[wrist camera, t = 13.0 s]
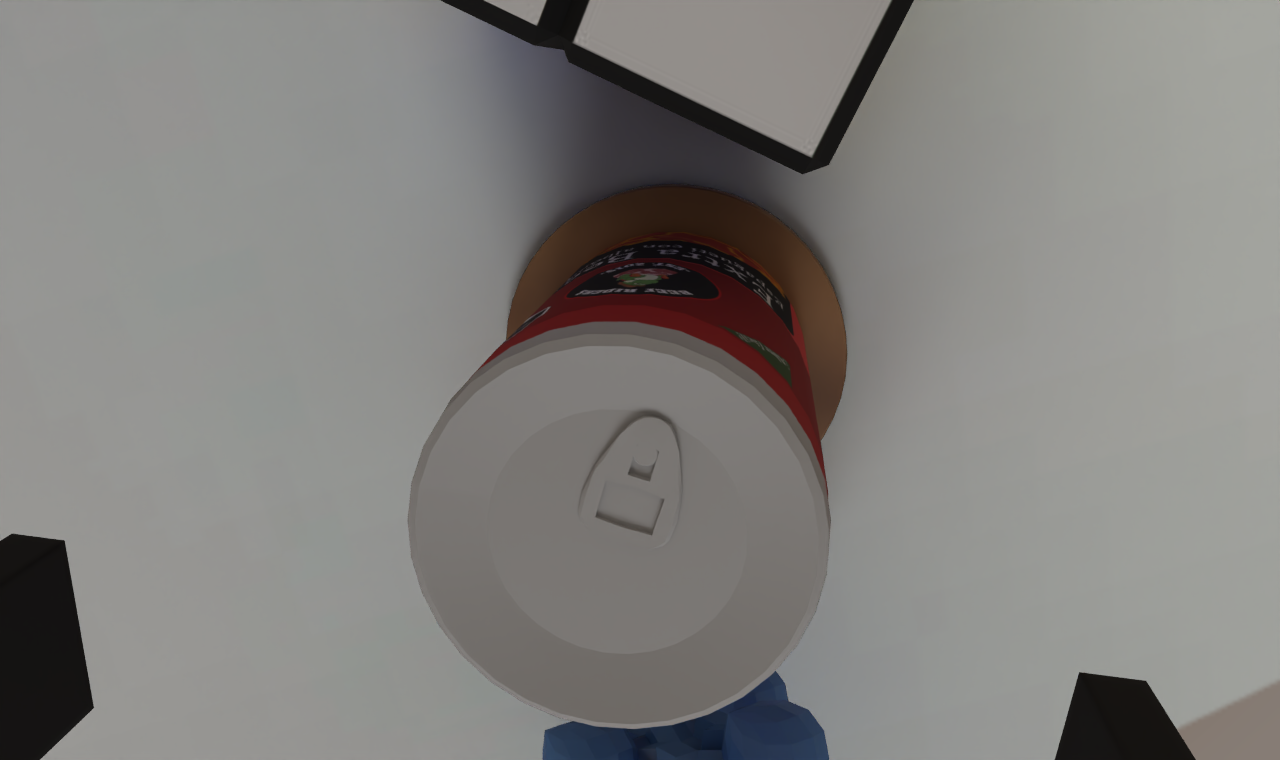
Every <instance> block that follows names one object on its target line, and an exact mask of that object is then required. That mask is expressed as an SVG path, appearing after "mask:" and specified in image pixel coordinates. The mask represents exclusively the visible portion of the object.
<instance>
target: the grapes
mask: <svg viewBox="0 0 1280 760" xmlns="http://www.w3.org/2000/svg"><path fill="white" fill-rule="evenodd" d="M543 760H829V755H828V750H827V744H826V739H825V734H824V730H823V729H822V727H821V726H820V725H819V723H818V722H817V721H816V719H815V718H814V717H813V715H812V714H811V713H810V711H809V710H807V709H805V708H803V707H800V706H798V705H796V704H793V703H791V702H789V701H788V697H787V691H786V686H785V683H784V682H783V680H782V679H781V678H780V676H779V675H778V674H777V672H776V671H775V672H774V673H773V674H772V675H771V676H769V677H768V678H767V679H766V680H764V681H763V682H762V683H760V684H759V685H758V686H757V687H755V688H754V689H753V690H751V691H750V692H749V693H747V694H746V695H745V696H744V697H742V698H740V699H738V700H736V701H734V702H732V703H730V704H728V705H726V706H724V707H722V708H720V709H718V710H716V711H714V712H712V713H710V714H708V715H705V716H702V717H698V718H695V719H691V720H688V721H684V722H681V723H677V724H674V725H668V726H658V727H649V728H639V729H626V728H612V727H597V726H592V725H588V724H584V723H579V722H575V721H571V722H568V723H565V724H562V725H559V726H556V727H553V728H550V729H547V730H545V735H544V745H543Z"/></svg>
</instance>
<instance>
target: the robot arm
mask: <svg viewBox="0 0 1280 760" xmlns="http://www.w3.org/2000/svg"><path fill="white" fill-rule="evenodd" d="M93 708H94V706H93V700H92V695H91V689H90V683H89V678H88V672H87V666H86V660H85V655H84V649H83V643H82V638H81V632H80V626H79V620H78V615H77V609H76V603H75V598H74V592H73V586H72V580H71V575H70V569H69V563H68V558H67V552H66V546H65V541H64V540H56V539H48V538H41V537H33V536H25V535H18V534H11V535H9V536H8V537H6V538H4V539H3V540H1V541H0V760H40V759H41V758H42V757H43V756H44V755H45V754H46V753H47V752H48V751H49V750H50V749H52V748H53V747H54V746H55V745H56V744H57V743H58V742H59V741H60V740H61V739H62V738H63V737H64V736H65V735H66V734H67V733H68V732H69V731H70V730H71V729H72V728H73V727H74V726H76V725H77V724H78V723H79V722H80V721H81V720H82V719H83V718H84V717H85V716H86V715H87V714H88V713H89V712H90V711H91V710H92V709H93ZM1055 760H1196V759H1195V758H1194V756H1193V755H1192V753H1191V751H1190V750H1189V748H1188V747H1187V745H1186V744H1185V742H1184V740H1183V739H1182V737H1181V736H1180V734H1179V732H1178V731H1177V729H1176V728H1175V726H1174V724H1173V723H1172V721H1171V720H1170V718H1169V717H1168V715H1167V713H1166V712H1165V710H1164V709H1163V707H1162V705H1161V704H1160V702H1159V701H1158V699H1157V698H1156V696H1155V694H1154V693H1153V691H1152V690H1151V688H1150V686H1149V685H1148V683H1147V682H1146V681H1142V680H1134V679H1127V678H1119V677H1111V676H1104V675H1096V674H1088V673H1080V672H1079V675H1078V679H1077V682H1076V686H1075V690H1074V693H1073V697H1072V700H1071V704H1070V707H1069V711H1068V715H1067V718H1066V722H1065V725H1064V729H1063V733H1062V736H1061V740H1060V743H1059V747H1058V751H1057V754H1056V758H1055Z"/></svg>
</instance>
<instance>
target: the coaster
mask: <svg viewBox="0 0 1280 760" xmlns="http://www.w3.org/2000/svg"><path fill="white" fill-rule="evenodd" d="M655 232H687V233H692V234H697V235H702V236H707V237H712V238H714V239H716V240H719V241H721V242H723V243H726V244H728V245H730V246H733V247H735V248H737V249H739V250H740V251H742V252H743V253H745V254H746V255H747V256H749V257H750V258H752V259H753V260H755V261H756V262H757V263H759V264H760V265H761V266H762V267H763V268H764V269H765V270H766V271H767V272H768V273H769V274H770V275H771V276H772V277H773V279H774V280H775V281H776V282H777V283H778V284H779V285H780V287H781V288H782V290H783V292H784V293H785V295H786V297H787V298H788V300H789V301H790V303H791V305H792V306H793V308H794V311H795V313H796V316H797V319H798V322H799V325H800V327H801V330H802V333H803V338H804V344H805V350H806V357H807V363H808V369H809V375H810V381H811V387H812V393H813V399H814V405H815V412H816V418H817V424H818V430H819V436H820V441H821V440H822V438H823V437H824V435H825V433H826V431H827V429H828V427H829V425H830V424H831V422H832V420H833V418H834V415H835V413H836V410H837V407H838V404H839V402H840V399H841V395H842V391H843V386H844V382H845V377H846V364H847V344H846V332H845V327H844V322H843V317H842V312H841V309H840V306H839V303H838V300H837V297H836V295H835V292H834V289H833V286H832V284H831V283H830V281H829V279H828V277H827V275H826V273H825V271H824V269H823V267H822V266H821V264H820V263H819V261H818V260H817V259H816V257H815V256H814V254H813V253H812V251H811V250H810V249H809V247H808V246H807V245H806V244H805V243H804V242H803V241H802V240H801V239H800V238H799V237H798V236H797V235H796V234H795V232H794V231H792V230H791V229H790V228H789V227H788V226H786V225H785V224H784V223H783V222H781V221H780V220H779V219H778V218H776V217H775V216H774V215H772V214H770V213H769V212H767V211H765V210H764V209H762V208H761V207H759V206H757V205H756V204H754V203H751V202H749V201H747V200H745V199H742V198H740V197H738V196H736V195H733V194H730V193H726V192H723V191H719V190H716V189H712V188H707V187H701V186H694V185H684V184H662V185H653V186H645V187H639V188H635V189H631V190H627V191H624V192H620V193H617V194H615V195H612V196H610V197H607V198H605V199H602V200H600V201H598V202H596V203H594V204H592V205H591V206H589V207H587V208H586V209H584V210H582V211H580V212H579V213H577V214H576V215H575V216H573V217H572V218H571V219H569V220H568V221H567V222H566V223H564V224H563V225H562V226H560V227H559V228H558V229H557V230H556V231H555V232H554V233H553V234H552V235H551V236H550V237H549V238H548V239H547V240H546V241H545V242H544V243H543V245H542V246H541V247H540V249H539V250H538V251H537V253H536V254H535V256H534V257H533V258H532V260H531V261H530V263H529V265H528V266H527V268H526V270H525V272H524V274H523V276H522V278H521V279H520V282H519V284H518V287H517V290H516V292H515V295H514V298H513V300H512V305H511V309H510V314H509V318H508V325H507V337H506V340H507V339H508V338H509V337H510V336H511V335H512V334H513V333H514V332H515V331H516V330H517V329H518V328H519V327H520V326H521V325H522V324H523V323H524V322H525V321H526V320H527V319H528V318H529V317H530V316H531V315H532V314H533V313H534V312H535V311H536V310H537V309H538V308H539V307H540V306H541V305H542V304H543V303H544V302H545V301H546V300H547V299H548V298H550V297H551V296H552V295H553V294H554V293H555V292H556V291H557V290H558V289H559V288H560V287H561V286H562V285H563V284H564V283H565V282H566V281H567V280H568V279H569V278H570V277H571V276H572V275H573V274H574V273H575V272H576V271H577V270H578V269H579V268H580V267H581V266H582V265H583V264H585V263H586V262H587V261H589V260H590V259H592V258H593V257H594V256H596V255H597V254H599V253H600V252H601V251H603V250H604V249H606V248H608V247H611V246H613V245H615V244H617V243H620V242H622V241H624V240H626V239H629V238H632V237H637V236H642V235H646V234H651V233H655Z"/></svg>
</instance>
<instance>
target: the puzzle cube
mask: <svg viewBox="0 0 1280 760" xmlns="http://www.w3.org/2000/svg"><path fill="white" fill-rule="evenodd" d="M441 1H443V2H445V3H447V4H449V5H451V6H453V7H455V8H457V9H460V10H462V11H464V12H466V13H468V14H470V15H472V16H474V17H476V18H478V19H480V20H482V21H485V22H487V23H489V24H491V25H493V26H495V27H497V28H499V29H501V30H503V31H505V32H507V33H510V34H512V35H514V36H516V37H518V38H520V39H522V40H524V41H526V42H528V43H530V44H532V45H535V46H542V47H549V48H556V49H563V50H564V51H565V54H566V56H567V59H568V62H570V63H572V64H574V65H576V66H578V67H580V68H582V69H585V70H587V71H589V72H591V73H593V74H595V75H597V76H599V77H601V78H603V79H605V80H607V81H610V82H612V83H614V84H616V85H618V86H620V87H622V88H624V89H626V90H628V91H630V92H632V93H635V94H637V95H639V96H641V97H643V98H645V99H647V100H649V101H651V102H653V103H655V104H657V105H660V106H662V107H664V108H666V109H668V110H670V111H672V112H674V113H676V114H678V115H680V116H682V117H685V118H687V119H689V120H691V121H693V122H695V123H697V124H699V125H701V126H703V127H705V128H707V129H710V130H712V131H714V132H716V133H718V134H720V135H722V136H724V137H726V138H728V139H730V140H732V141H735V142H737V143H739V144H741V145H743V146H745V147H747V148H749V149H751V150H753V151H755V152H757V153H760V154H762V155H764V156H766V157H768V158H770V159H772V160H774V161H776V162H778V163H780V164H782V165H784V166H787V167H789V168H791V169H793V170H795V171H797V172H799V173H801V174H805V173H807V172H810V171H813V170H816V169H819V168H821V167H824V166H827V165H829V163H830V161H831V159H832V158H833V156H834V154H835V152H836V150H837V148H838V146H839V144H840V142H841V140H842V138H843V136H844V134H845V132H846V130H847V129H848V127H849V125H850V123H851V121H852V119H853V117H854V115H855V113H856V111H857V109H858V107H859V105H860V103H861V101H862V100H863V98H864V96H865V94H866V92H867V90H868V88H869V86H870V84H871V82H872V80H873V78H874V76H875V74H876V72H877V71H878V69H879V67H880V65H881V63H882V61H883V59H884V57H885V55H886V53H887V51H888V49H889V47H890V45H891V43H892V41H893V40H894V38H895V36H896V34H897V32H898V30H899V28H900V26H901V24H902V22H903V20H904V18H905V16H906V14H907V12H908V11H909V9H910V7H911V5H912V3H913V1H914V0H441Z"/></svg>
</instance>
